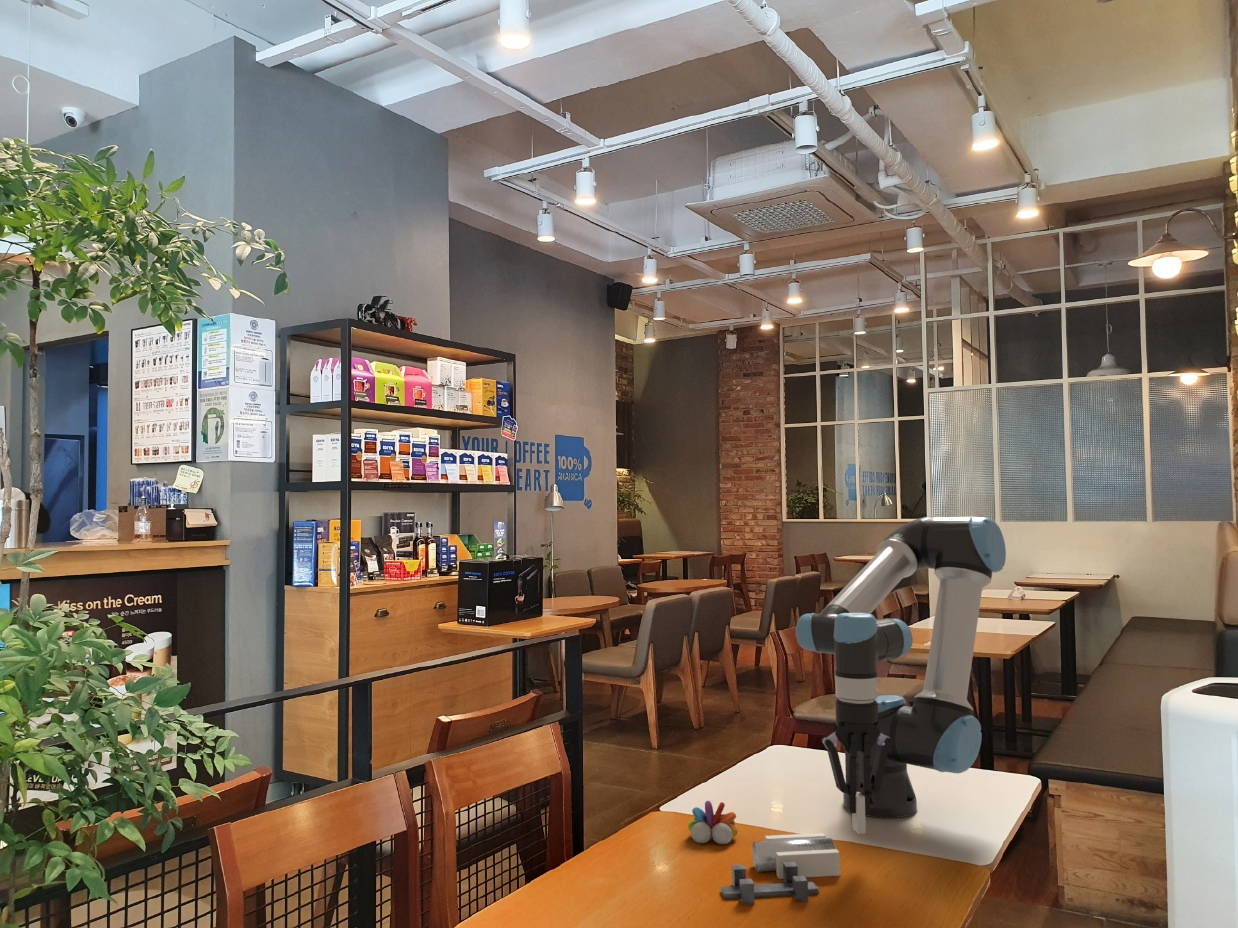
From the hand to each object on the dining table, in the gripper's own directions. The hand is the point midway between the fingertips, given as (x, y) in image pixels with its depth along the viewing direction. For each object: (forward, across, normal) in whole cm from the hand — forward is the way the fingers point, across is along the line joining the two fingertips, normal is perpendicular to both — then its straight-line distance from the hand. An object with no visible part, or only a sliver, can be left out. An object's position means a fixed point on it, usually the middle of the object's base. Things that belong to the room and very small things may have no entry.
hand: (858, 830), depth 166 cm
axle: (+4, +12, 0) cm, 13 cm away
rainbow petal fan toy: (+7, +24, -16) cm, 30 cm away
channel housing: (+6, +10, 0) cm, 12 cm away
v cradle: (+6, +19, +10) cm, 22 cm away
